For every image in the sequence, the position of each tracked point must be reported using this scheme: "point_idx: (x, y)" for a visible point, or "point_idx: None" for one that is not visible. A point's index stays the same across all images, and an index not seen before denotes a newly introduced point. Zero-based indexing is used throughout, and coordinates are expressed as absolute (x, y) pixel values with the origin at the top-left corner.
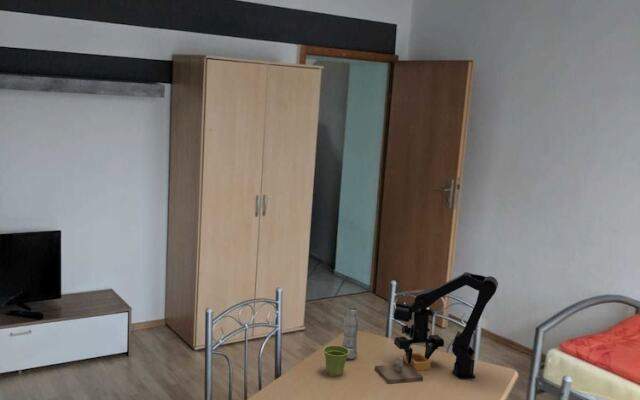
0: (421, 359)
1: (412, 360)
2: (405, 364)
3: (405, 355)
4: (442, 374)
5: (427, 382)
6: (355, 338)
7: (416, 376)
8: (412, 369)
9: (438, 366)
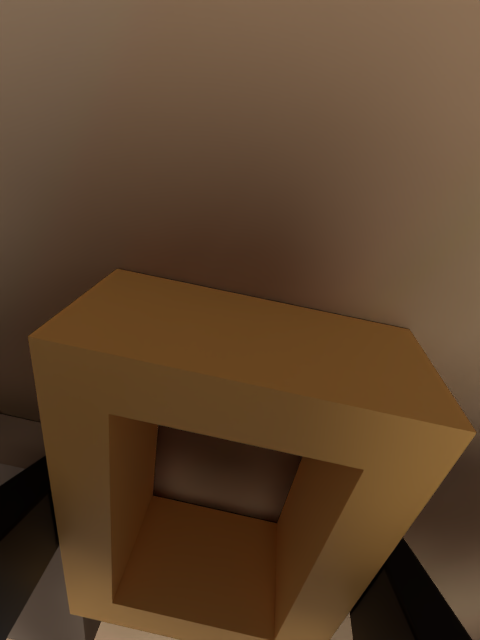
0: (314, 506)
1: (70, 565)
2: (5, 478)
3: (47, 358)
4: (342, 626)
5: (127, 631)
6: None
7: (33, 636)
8: (45, 573)
9: (474, 544)
